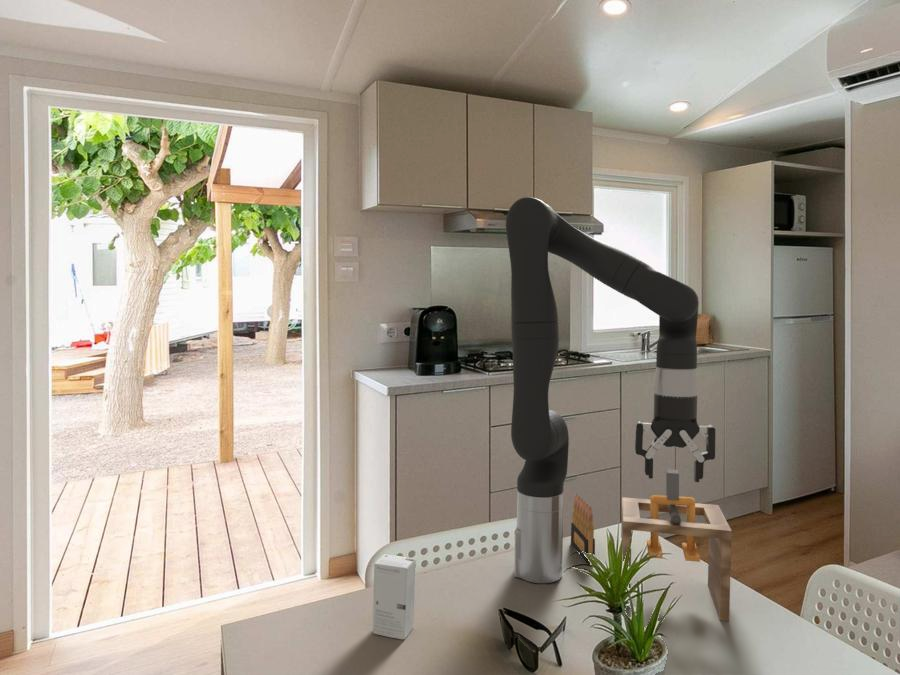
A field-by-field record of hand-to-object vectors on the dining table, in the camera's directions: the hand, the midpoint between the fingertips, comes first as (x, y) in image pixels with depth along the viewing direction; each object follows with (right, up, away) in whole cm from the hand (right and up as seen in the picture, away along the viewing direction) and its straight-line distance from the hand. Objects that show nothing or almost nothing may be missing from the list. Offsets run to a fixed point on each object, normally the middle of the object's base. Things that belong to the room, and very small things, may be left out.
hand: (673, 479), depth 114 cm
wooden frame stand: (0, -22, +1) cm, 22 cm away
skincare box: (-51, -23, -11) cm, 57 cm away
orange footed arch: (0, -14, +1) cm, 14 cm away
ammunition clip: (-12, -21, +21) cm, 33 cm away
